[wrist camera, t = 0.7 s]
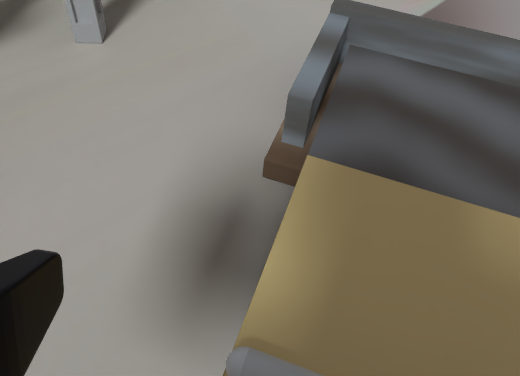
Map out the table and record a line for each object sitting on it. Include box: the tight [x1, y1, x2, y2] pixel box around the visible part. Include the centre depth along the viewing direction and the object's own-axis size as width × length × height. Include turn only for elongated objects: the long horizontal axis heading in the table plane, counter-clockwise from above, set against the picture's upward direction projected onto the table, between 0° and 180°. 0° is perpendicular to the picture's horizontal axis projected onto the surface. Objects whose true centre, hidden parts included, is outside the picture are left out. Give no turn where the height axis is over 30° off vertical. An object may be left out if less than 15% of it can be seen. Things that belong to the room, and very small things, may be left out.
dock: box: [263, 0, 520, 218], centre depth 26 cm, size 29×19×7 cm, turn 161°
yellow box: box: [223, 155, 520, 376], centre depth 17 cm, size 10×12×10 cm
